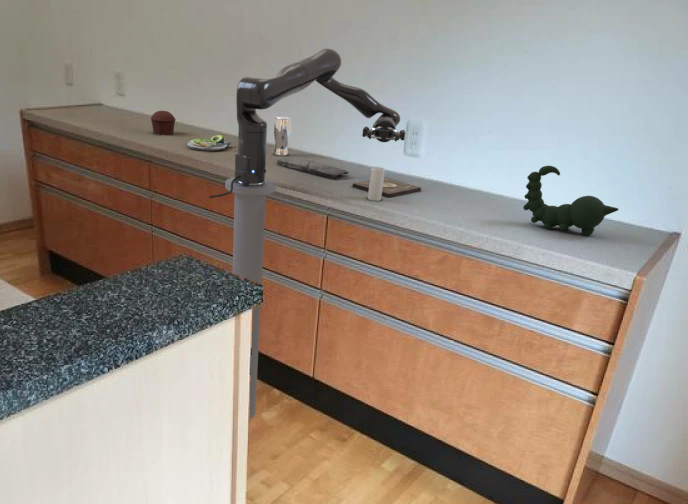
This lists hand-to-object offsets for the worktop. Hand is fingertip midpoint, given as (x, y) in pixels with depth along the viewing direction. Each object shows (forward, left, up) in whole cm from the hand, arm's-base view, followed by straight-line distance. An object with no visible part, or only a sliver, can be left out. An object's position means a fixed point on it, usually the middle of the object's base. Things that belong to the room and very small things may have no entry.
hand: (383, 137), depth 199 cm
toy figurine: (+15, -59, -18) cm, 63 cm away
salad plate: (-8, +86, -18) cm, 89 cm away
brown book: (+6, 0, -18) cm, 19 cm away
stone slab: (+2, +33, -18) cm, 38 cm away
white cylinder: (-9, -7, -18) cm, 21 cm away
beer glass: (+11, +61, -18) cm, 65 cm away
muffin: (-8, +122, -18) cm, 124 cm away
